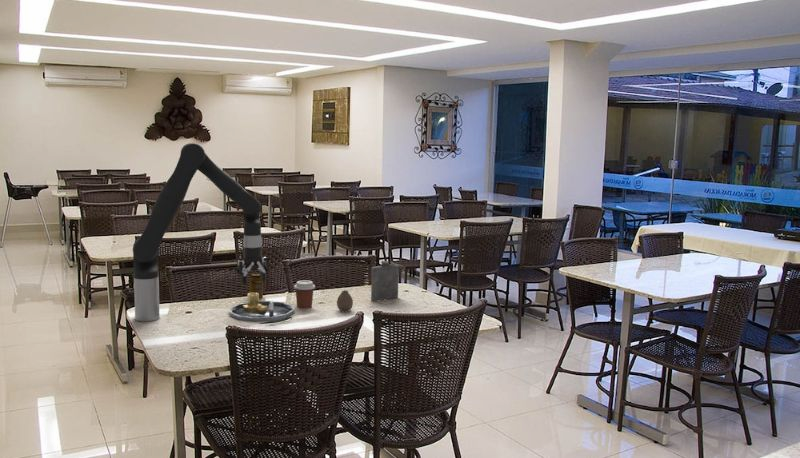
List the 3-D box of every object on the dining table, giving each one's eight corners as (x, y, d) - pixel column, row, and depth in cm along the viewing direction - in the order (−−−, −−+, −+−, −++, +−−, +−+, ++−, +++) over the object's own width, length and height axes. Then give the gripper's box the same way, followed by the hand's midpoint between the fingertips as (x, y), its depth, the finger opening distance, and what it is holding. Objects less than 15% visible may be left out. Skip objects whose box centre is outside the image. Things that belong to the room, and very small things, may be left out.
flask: (369, 300, 303) (369, 261, 300) (394, 296, 311) (395, 259, 308) (373, 301, 300) (373, 263, 297) (399, 298, 308) (400, 260, 305)
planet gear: (239, 308, 278) (239, 293, 277) (256, 305, 284) (256, 290, 283) (249, 312, 272) (249, 297, 271) (267, 309, 278) (266, 294, 277)
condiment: (263, 298, 301) (263, 272, 299) (264, 302, 293) (263, 276, 291) (247, 298, 300) (247, 273, 298) (247, 303, 291) (247, 277, 290)
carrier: (218, 313, 274) (218, 297, 273) (271, 303, 292) (271, 288, 291) (251, 327, 255) (251, 310, 254) (305, 316, 273) (305, 300, 272)
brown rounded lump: (355, 310, 284) (356, 291, 283) (344, 313, 279) (344, 293, 278) (345, 307, 289) (345, 288, 287) (333, 310, 284) (333, 290, 282)
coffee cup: (289, 309, 283) (289, 282, 281) (302, 305, 291) (302, 278, 289) (306, 312, 279) (307, 285, 277) (319, 308, 287) (319, 281, 285)
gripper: (262, 242, 282) (263, 279, 284) (232, 246, 272) (233, 284, 274) (272, 244, 276) (272, 282, 279) (242, 248, 267) (243, 287, 269)
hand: (253, 283), depth 277 cm, fingers open, 8 cm apart
